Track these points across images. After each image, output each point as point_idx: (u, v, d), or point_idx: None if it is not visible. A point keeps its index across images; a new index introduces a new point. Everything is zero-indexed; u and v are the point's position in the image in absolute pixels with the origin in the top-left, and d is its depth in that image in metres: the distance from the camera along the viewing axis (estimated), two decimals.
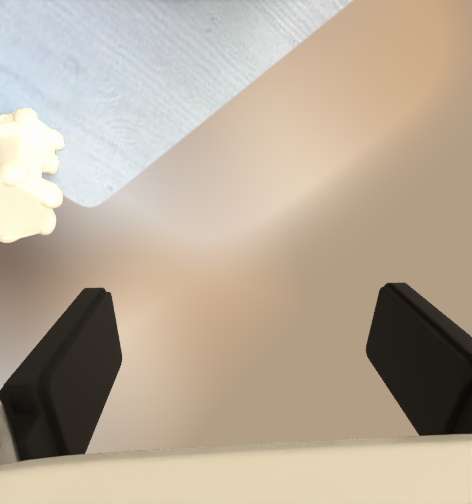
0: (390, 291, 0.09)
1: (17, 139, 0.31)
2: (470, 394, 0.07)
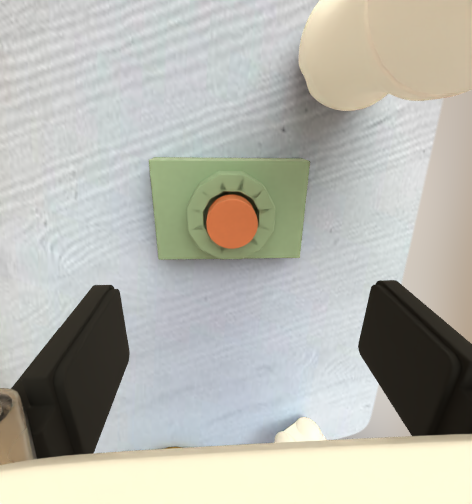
0: (381, 288, 0.09)
1: None
2: (456, 388, 0.07)
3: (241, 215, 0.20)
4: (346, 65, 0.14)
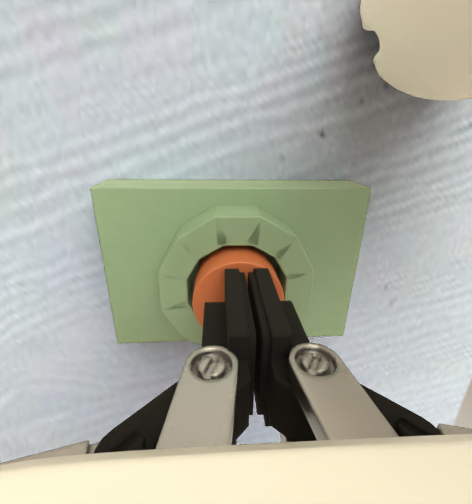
0: (250, 275, 0.10)
1: None
2: (270, 360, 0.07)
3: None
4: None
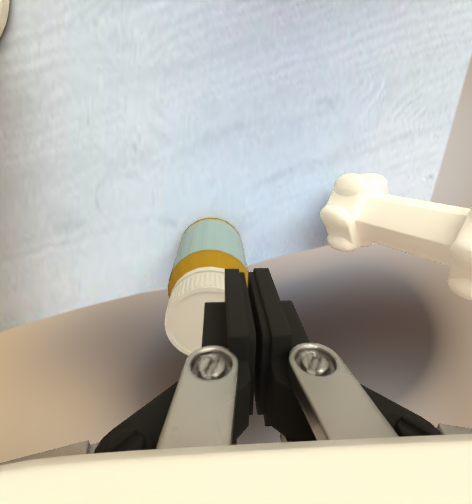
0: (250, 275, 0.10)
1: (382, 203, 0.26)
2: (270, 360, 0.07)
3: None
4: None
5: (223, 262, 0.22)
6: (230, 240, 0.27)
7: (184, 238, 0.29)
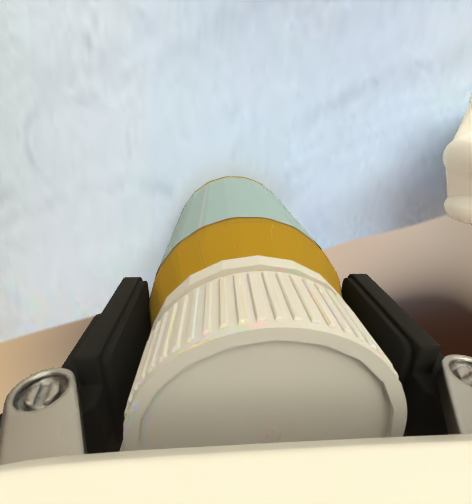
0: (351, 281, 0.10)
1: None
2: (409, 372, 0.07)
3: None
4: None
5: (286, 244, 0.09)
6: (279, 205, 0.13)
7: (185, 209, 0.15)
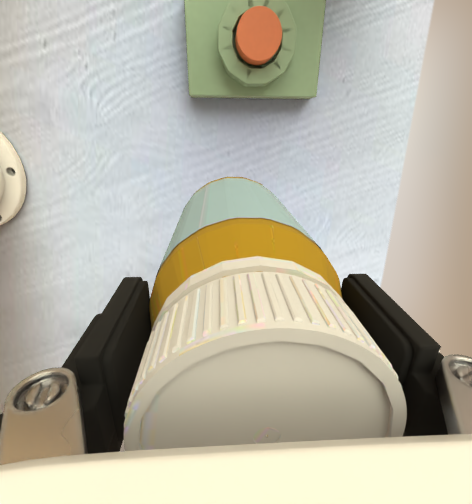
0: (351, 281, 0.10)
1: None
2: (409, 372, 0.07)
3: (267, 23, 0.23)
4: None
5: (286, 245, 0.09)
6: (279, 206, 0.13)
7: (186, 210, 0.15)
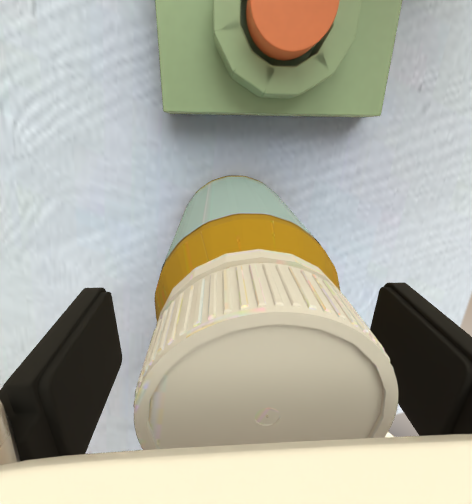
0: (390, 291, 0.09)
1: None
2: (470, 394, 0.07)
3: None
4: None
5: (286, 239, 0.09)
6: (280, 203, 0.14)
7: (189, 207, 0.16)
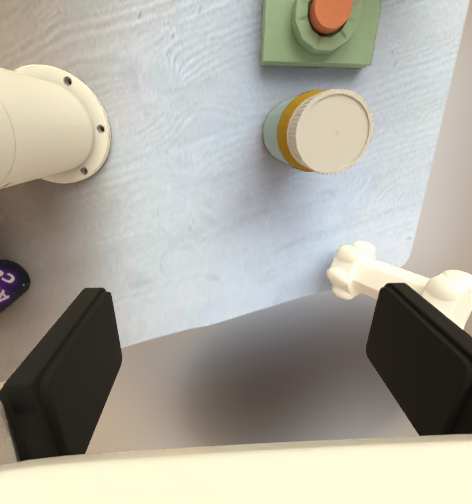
0: (390, 291, 0.09)
1: (370, 270, 0.37)
2: (470, 394, 0.07)
3: None
4: None
5: None
6: None
7: (275, 110, 0.32)
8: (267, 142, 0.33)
